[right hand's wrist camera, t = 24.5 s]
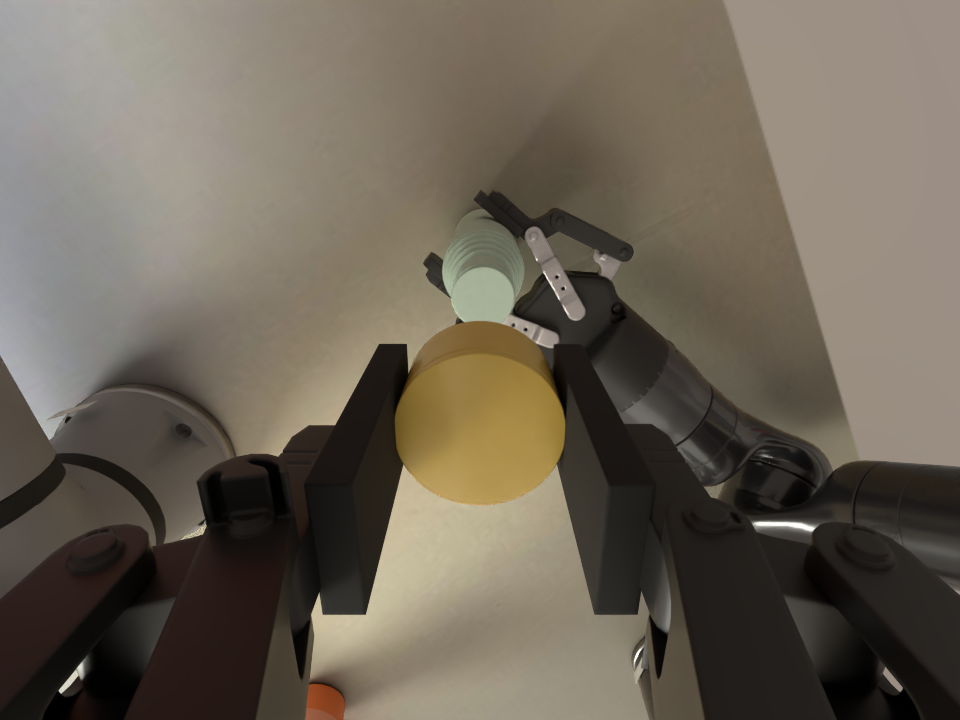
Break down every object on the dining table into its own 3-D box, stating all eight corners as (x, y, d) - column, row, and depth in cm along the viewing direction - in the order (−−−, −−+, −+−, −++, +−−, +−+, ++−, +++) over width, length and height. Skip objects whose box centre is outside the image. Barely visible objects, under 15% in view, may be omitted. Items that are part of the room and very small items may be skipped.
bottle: (442, 230, 41) (412, 282, 24) (492, 196, 40) (499, 226, 23) (474, 279, 42) (468, 362, 25) (523, 248, 41) (552, 312, 24)
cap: (521, 469, 15) (528, 524, 13) (390, 428, 15) (373, 477, 13) (577, 348, 14) (595, 386, 12) (433, 298, 14) (423, 328, 11)
